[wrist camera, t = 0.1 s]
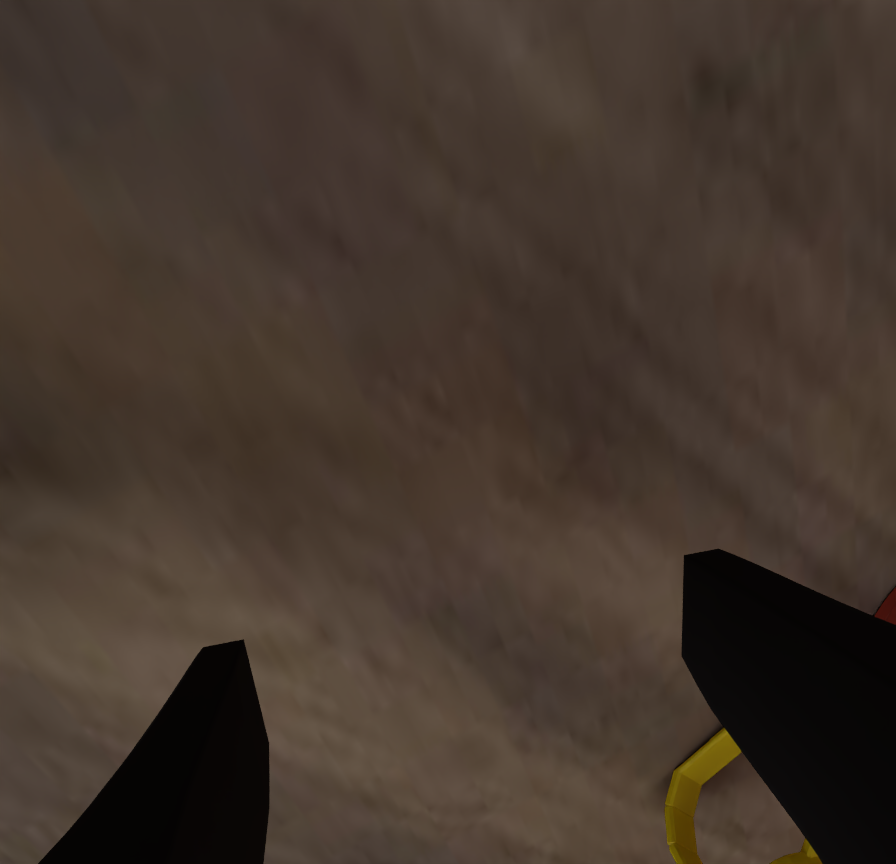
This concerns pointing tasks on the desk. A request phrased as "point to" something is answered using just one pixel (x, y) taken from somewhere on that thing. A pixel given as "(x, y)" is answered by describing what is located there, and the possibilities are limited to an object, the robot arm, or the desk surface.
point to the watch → (687, 794)
